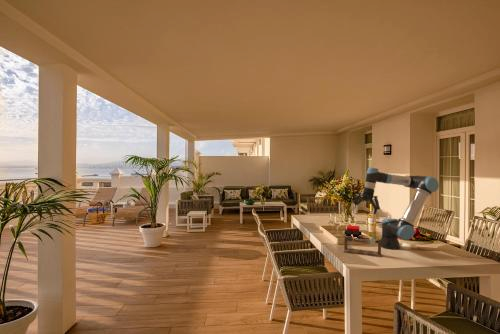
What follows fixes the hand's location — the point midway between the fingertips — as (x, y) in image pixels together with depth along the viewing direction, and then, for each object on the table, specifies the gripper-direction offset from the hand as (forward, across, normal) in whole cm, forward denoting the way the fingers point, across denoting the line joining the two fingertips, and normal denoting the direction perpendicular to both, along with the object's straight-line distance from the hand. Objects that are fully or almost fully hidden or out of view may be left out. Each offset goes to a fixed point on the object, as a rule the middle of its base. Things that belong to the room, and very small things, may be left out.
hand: (364, 215), depth 223 cm
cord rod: (+20, 0, +5) cm, 21 cm away
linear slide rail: (+29, +1, +7) cm, 29 cm away
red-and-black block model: (+26, -27, +42) cm, 56 cm away
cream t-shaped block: (+20, +6, +8) cm, 22 cm away
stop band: (+21, -6, +2) cm, 22 cm away
